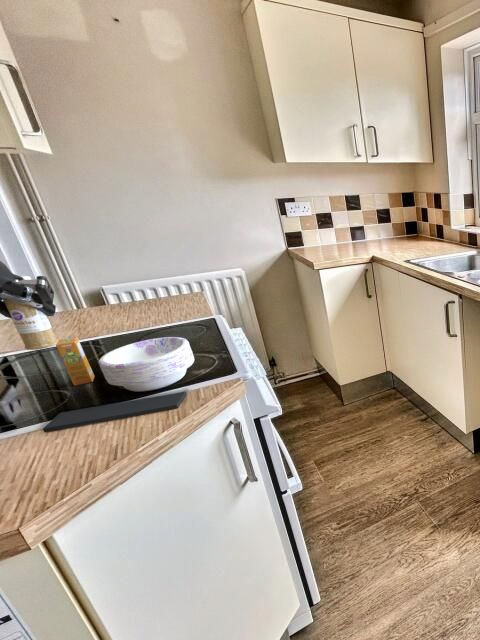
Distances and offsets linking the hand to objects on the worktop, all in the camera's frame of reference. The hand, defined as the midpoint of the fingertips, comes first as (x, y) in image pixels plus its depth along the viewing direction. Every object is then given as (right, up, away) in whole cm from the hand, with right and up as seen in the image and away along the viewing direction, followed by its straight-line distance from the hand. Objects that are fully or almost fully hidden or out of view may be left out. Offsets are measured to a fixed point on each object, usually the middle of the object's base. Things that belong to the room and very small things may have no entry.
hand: (34, 313), depth 81 cm
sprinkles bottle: (+1, -6, +1) cm, 7 cm away
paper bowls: (+13, -15, +12) cm, 23 cm away
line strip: (+16, -19, +1) cm, 25 cm away
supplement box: (-4, -15, +13) cm, 20 cm away
